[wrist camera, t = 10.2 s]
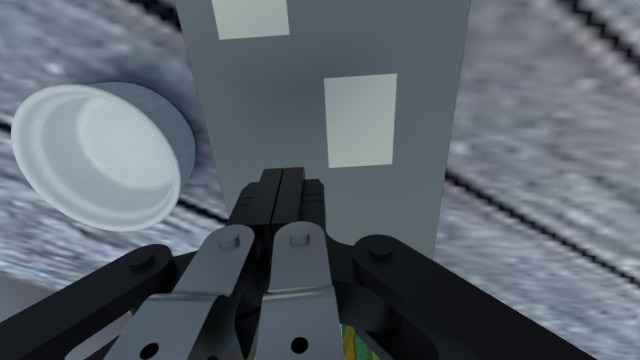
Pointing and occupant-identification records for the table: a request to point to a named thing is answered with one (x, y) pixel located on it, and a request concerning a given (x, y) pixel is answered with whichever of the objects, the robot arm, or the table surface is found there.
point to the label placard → (334, 102)
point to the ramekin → (104, 152)
